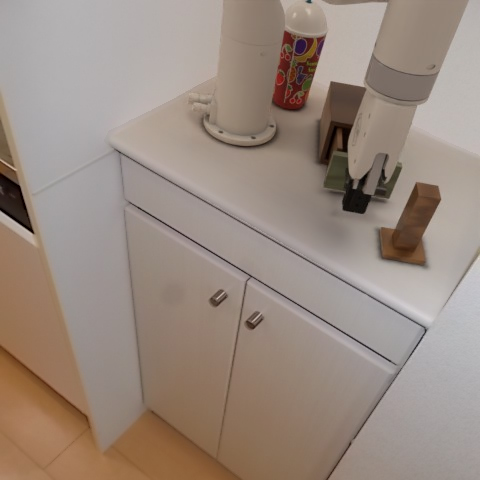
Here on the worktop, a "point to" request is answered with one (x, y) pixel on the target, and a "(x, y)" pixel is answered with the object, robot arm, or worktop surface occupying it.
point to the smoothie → (299, 53)
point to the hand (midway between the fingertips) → (352, 208)
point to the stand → (411, 226)
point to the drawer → (339, 166)
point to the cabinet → (338, 113)
